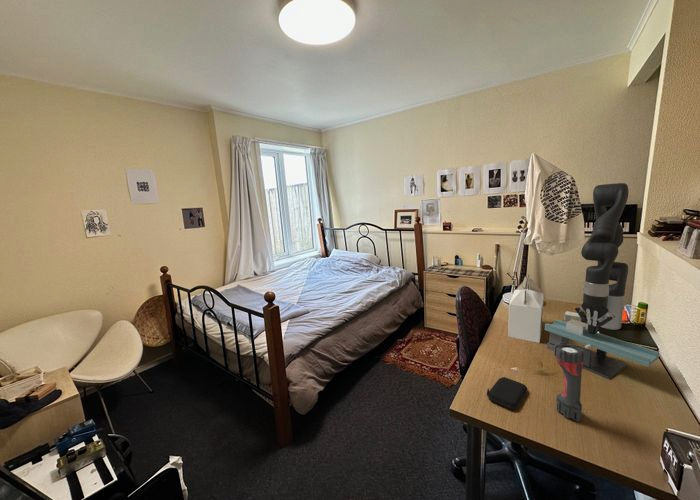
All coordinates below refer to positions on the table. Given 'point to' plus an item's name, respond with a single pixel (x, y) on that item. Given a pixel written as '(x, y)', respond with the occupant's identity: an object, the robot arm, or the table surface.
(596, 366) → the beam stand
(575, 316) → the skincare box
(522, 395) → the carrying case or bag
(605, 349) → the seesaw beam
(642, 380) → the table surface
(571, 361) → the flashlight
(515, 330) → the gable box
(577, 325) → the steel slider
